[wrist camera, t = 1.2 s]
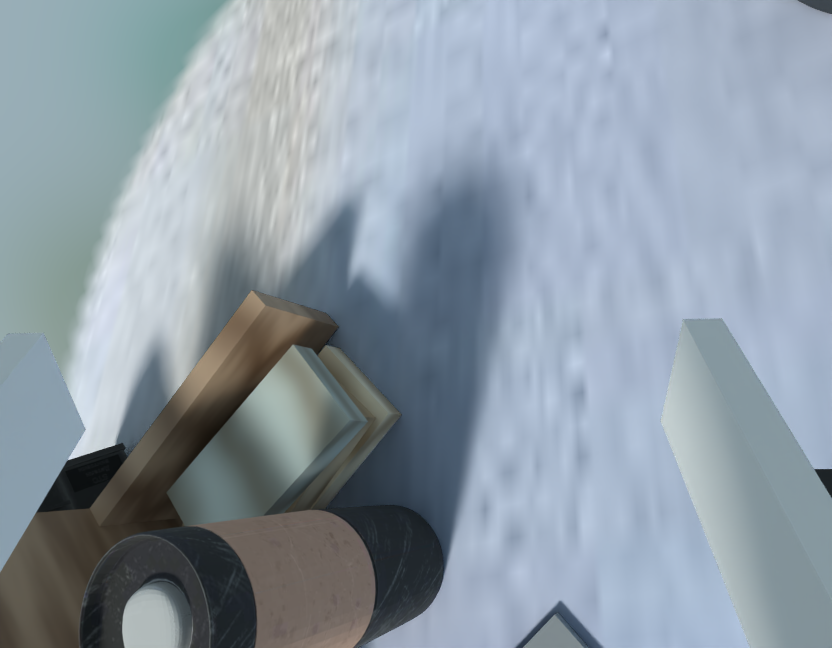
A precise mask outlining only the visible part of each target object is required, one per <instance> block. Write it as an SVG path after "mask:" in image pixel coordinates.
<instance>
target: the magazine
mask: <svg viewBox="0 0 832 648" xmlns="http://www.w3.org/2000/svg"><path fill="white" fill-rule="evenodd" d="M124 449H126V448H125V446H124V445H123V443H121V444H118V445H115V446H112V447H108V448H105V449H102V450H99V451H96V452H93V453H90V454H87V455H83V456H80V457H77V458H74V459H71V460H68V461H67V462H66V463H65V465H64V467H63V468H62V470H61V472H60V473H59V475H58V477H57V478H56V480H55V482H54V483H53V485H52V487H51V488H50V490H49V492H48V493H47V495H46V497H45V498H44V500H43V502H42V503H41V505H40V507H39V508H38V510H37V512H36V513H38V512H51V511H64V510H77V509H90V507H91V506H92V505H93V503H94V502H95V501H96V499H97V498H98V497H99V495H100V494H101V493H102V491H103V490H104V489H105V487H106V486H107V484H108V483H109V482H110V480H111V479H112V478H113V476H114V475H115V474H116V472H117V471H118V470H119V468H120V467H121V466H122V464H123V463H124V462H125V460H126V459H127V457H126V454H125V452H124Z"/></svg>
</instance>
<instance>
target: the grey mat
mask: <svg viewBox="0 0 832 648" xmlns="http://www.w3.org/2000/svg"><path fill="white" fill-rule="evenodd" d="M523 648H589V647H588V646H587V645H586V644H585V642H584V641H583V640H582V639H581V638H580V637H579V636H578V635H577V634H576V632H575V631H574V630H573V629H572V628H571V627H570V626H569V625H568V623H567V622H566V621H565V620H564V619H563V618H562V617H561V616H560V614H559V613H558V612H557V613H556V614H555V615H554V616H553V617H552V618H551V619H550V620H549V621H548V622H547V623H546V624H545V625H544V626H543V627H542V628H541V629H540V630H539V631H538V632H537V633H536V634H535V635H534V637H533V638H532V639H531V640H530V641H529V642H528V643H527V644H526V645H525V646H524V647H523Z"/></svg>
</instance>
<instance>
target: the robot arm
mask: <svg viewBox="0 0 832 648" xmlns="http://www.w3.org/2000/svg"><path fill="white" fill-rule="evenodd" d="M798 1H800V2H802V3H804V4H806V5H808V6H810V7H812V8H815V9H817V10H820V11H823V12H826V13H830V14H832V0H798ZM661 423H662V426H663V428H664V431H665V433H666V436H667V438H668V441H669V444H670V446H671V449H672V451H673V454H674V456H675V459H676V461H677V464H678V466H679V469H680V471H681V474H682V476H683V479H684V482H685V484H686V487H687V489H688V492H689V494H690V497H691V499H692V502H693V504H694V507H695V509H696V512H697V514H698V517H699V520H700V522H701V525H702V527H703V530H704V532H705V535H706V537H707V540H708V542H709V545H710V547H711V550H712V552H713V555H714V558H715V560H716V563H717V565H718V568H719V570H720V573H721V575H722V578H723V580H724V583H725V585H726V588H727V591H728V593H729V596H730V598H731V601H732V603H733V606H734V608H735V611H736V613H737V616H738V618H739V621H740V623H741V626H742V629H743V631H744V634H745V636H746V639H747V641H748V644H749V646H750V648H832V469H814V468H813V467H812V465H811V464H810V462H809V460H808V459H807V457H806V455H805V454H804V452H803V450H802V449H801V447H800V446H799V444H798V442H797V441H796V439H795V437H794V436H793V434H792V432H791V431H790V429H789V428H788V426H787V424H786V423H785V421H784V419H783V418H782V416H781V414H780V413H779V411H778V409H777V408H776V406H775V405H774V403H773V401H772V400H771V398H770V396H769V395H768V393H767V391H766V390H765V388H764V387H763V385H762V383H761V382H760V380H759V378H758V377H757V375H756V373H755V372H754V370H753V369H752V367H751V365H750V364H749V362H748V360H747V359H746V357H745V355H744V354H743V352H742V351H741V349H740V347H739V346H738V344H737V342H736V341H735V339H734V337H733V336H732V334H731V333H730V331H729V329H728V328H727V326H726V324H725V323H724V321H723V319H683V322H682V327H681V331H680V336H679V340H678V345H677V349H676V354H675V358H674V363H673V367H672V372H671V376H670V381H669V385H668V390H667V394H666V399H665V403H664V408H663V413H662V417H661ZM85 430H86V429H85V427H84V425H83V423H82V420H81V418H80V416H79V413H78V411H77V409H76V406H75V404H74V402H73V399H72V397H71V395H70V393H69V390H68V388H67V386H66V383H65V381H64V379H63V376H62V374H61V372H60V369H59V367H58V365H57V362H56V360H55V358H54V356H53V353H52V351H51V349H50V346H49V344H48V342H47V339H46V337H45V335H44V333H15V334H14V333H12V334H7V335H6V336H5V337H4V339H3V340H2V341H1V342H0V572H1V570H2V569H3V567H4V565H5V564H6V562H7V560H8V558H9V557H10V555H11V553H12V552H13V550H14V548H15V547H16V545H17V543H18V542H19V540H20V538H21V537H22V535H23V533H24V532H25V530H26V528H27V527H28V525H29V523H30V522H31V520H32V518H33V517H34V515H35V513H36V512H37V510H38V508H39V507H40V505H41V503H42V502H43V500H44V498H45V497H46V495H47V493H48V492H49V490H50V488H51V487H52V485H53V483H54V482H55V480H56V478H57V477H58V475H59V473H60V472H61V470H62V468H63V467H64V465H65V463H66V462H67V460H68V458H69V457H70V455H71V453H72V452H73V450H74V448H75V447H76V445H77V443H78V441H79V440H80V438H81V436H82V435H83V433H84V431H85Z"/></svg>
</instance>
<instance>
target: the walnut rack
mask: <svg viewBox="0 0 832 648" xmlns="http://www.w3.org/2000/svg"><path fill="white" fill-rule="evenodd" d="M337 328H338V325H337V324H336V323H335V322H334V321H333V320H332V319H331V318H330V317H329V316H328V315H327V314H326V313H324V312H321V311H318V310H315V309H311V308H308V307H305V306H302V305H298V304H295V303H292V302H289V301H286V300H282V299H279V298H276V297H273V296H270V295H266V294H263V293H260V292H257V291H254V290H251V292H250V293H249V295H248V296H247V297H246V299H245V300H244V301H243V303H242V304H241V305H240V307H239V308H238V309H237V311H236V312H235V313H234V315H233V316H232V317H231V319H230V320H229V321H228V323H227V324H226V326H225V327H224V328H223V330H222V331H221V332H220V334H219V335H218V336H217V338H216V339H215V340H214V342H213V343H212V344H211V346H210V347H209V348H208V350H207V351H206V352H205V354H204V355H203V357H202V358H201V359H200V361H199V362H198V363H197V365H196V366H195V367H194V369H193V370H192V371H191V373H190V374H189V375H188V377H187V378H186V379H185V381H184V382H183V383H182V385H181V386H180V387H179V389H178V390H177V392H176V393H175V394H174V396H173V397H172V398H171V400H170V401H169V402H168V404H167V405H166V406H165V408H164V409H163V410H162V412H161V413H160V414H159V416H158V417H157V418H156V420H155V421H154V423H153V424H152V425H151V427H150V428H149V429H148V431H147V432H146V433H145V435H144V436H143V437H142V439H141V440H140V441H139V443H138V444H137V445H136V447H135V448H134V449H133V451H132V452H131V453H130V455H129V456H128V458H127V459H126V460H125V462H124V463H123V464H122V466H121V467H120V468H119V470H118V471H117V472H116V474H115V475H114V476H113V478H112V479H111V480H110V482H109V483H108V484H107V486H106V487H105V489H104V490H103V491H102V493H101V494H100V495H99V497H98V498H97V499H96V501H95V502H94V503H93V505H92V506H91V507H90V509H77V510H64V511H51V512H38V513H35V515H34V517H33V518H32V520H31V522H30V523H29V525H28V527H27V528H26V530H25V532H24V533H23V535H22V537H21V538H20V540H19V542H18V543H17V545H16V547H15V548H14V550H13V552H12V553H11V555H10V557H9V558H8V560H7V562H6V564H5V565H4V567H3V569H2V570H1V572H0V648H79V619H80V612H81V605H82V601H83V597H84V593H85V590H86V587H87V584H88V582H89V579H90V577H91V575H92V573H93V571H94V569H95V568H96V566H97V564H98V563H99V561H100V560H101V558H102V557H103V556H104V555H105V554H106V552H107V551H108V550H109V549H110V548H111V547H113V546H114V545H115V544H116V543H118V542H119V541H121V540H123V539H124V538H126V537H128V536H131V535H134V534H137V533H141V532H146V531H153V530H160V529H168V528H176V527H183V526H182V524H183V521H182V520H181V518H180V516H179V514H178V512H177V511H176V509H175V507H174V505H173V503H172V502H171V500H170V498H169V496H168V494H167V493H166V492H167V491H168V490H169V489H170V488H171V486H172V485H173V484H174V483H175V482H176V481H177V479H178V478H179V477H180V476H181V475H182V474H183V472H184V471H185V470H186V469H187V468H188V467H189V465H190V464H191V463H192V462H193V461H194V460H195V458H196V457H197V456H198V455H199V454H200V453H201V451H202V450H203V449H204V448H205V447H206V445H207V444H208V443H209V442H210V441H211V440H212V438H213V437H214V436H215V435H216V434H217V433H218V431H219V430H220V429H221V428H222V427H223V426H224V424H225V423H226V422H227V421H228V420H229V419H230V417H231V416H232V415H233V414H234V413H235V412H236V410H237V409H238V408H239V407H240V406H241V405H242V403H243V402H244V401H245V400H246V399H247V398H248V396H249V395H250V394H251V393H252V392H253V391H254V389H255V388H256V387H257V386H258V385H259V384H260V382H261V381H262V380H263V379H264V378H265V377H266V375H267V374H268V373H269V372H270V371H271V370H272V368H273V367H274V366H275V365H276V364H277V362H278V361H279V360H280V359H281V358H282V357H283V355H284V354H285V353H286V352H287V351H288V350H289V348H290V347H291V346H292V345H298V346H302V347H307V348H311V349H312V350H313V351H314V352H315V354H316V355H317V354H318V353H319V351H320V350H321V349H322V348H323V346H324V345H325V344H326V342H327V341H328V340H329V339H330V337H331V336H332V335H333V334H334V332H335V331H336V330H337Z"/></svg>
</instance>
